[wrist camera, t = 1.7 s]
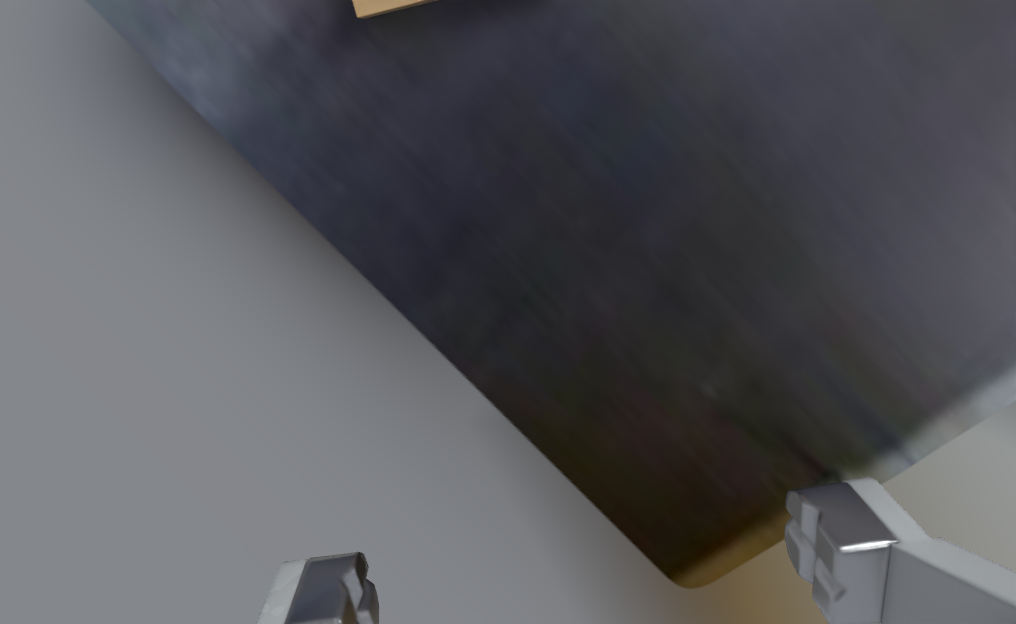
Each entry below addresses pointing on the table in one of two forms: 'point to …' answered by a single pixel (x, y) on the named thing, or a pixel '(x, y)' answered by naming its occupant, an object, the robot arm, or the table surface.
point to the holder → (383, 6)
